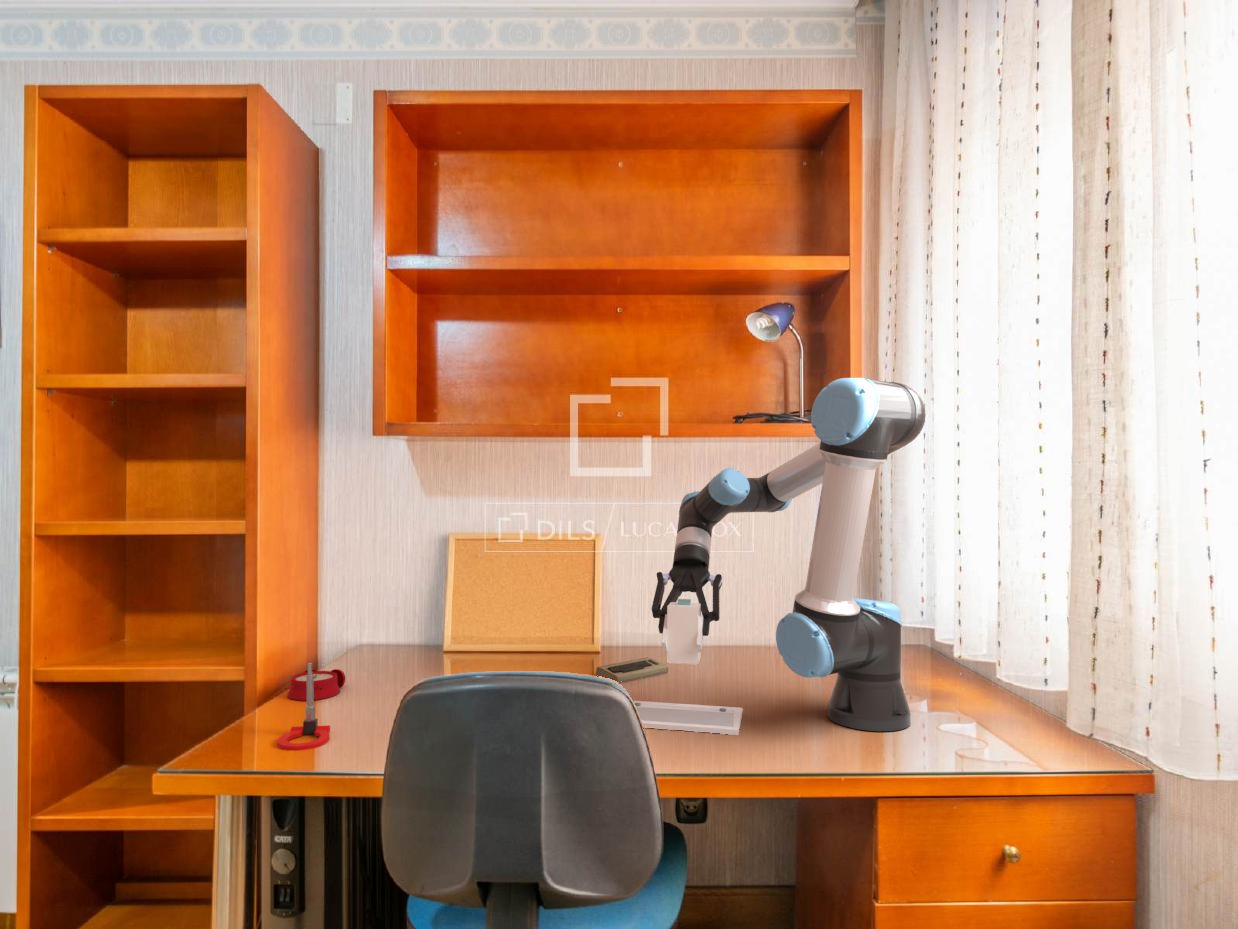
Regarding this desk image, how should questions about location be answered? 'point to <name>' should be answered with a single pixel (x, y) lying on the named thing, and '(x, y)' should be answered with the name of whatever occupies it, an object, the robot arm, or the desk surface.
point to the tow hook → (306, 724)
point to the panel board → (697, 727)
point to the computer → (632, 669)
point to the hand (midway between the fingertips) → (681, 647)
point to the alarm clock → (317, 684)
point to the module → (683, 632)
